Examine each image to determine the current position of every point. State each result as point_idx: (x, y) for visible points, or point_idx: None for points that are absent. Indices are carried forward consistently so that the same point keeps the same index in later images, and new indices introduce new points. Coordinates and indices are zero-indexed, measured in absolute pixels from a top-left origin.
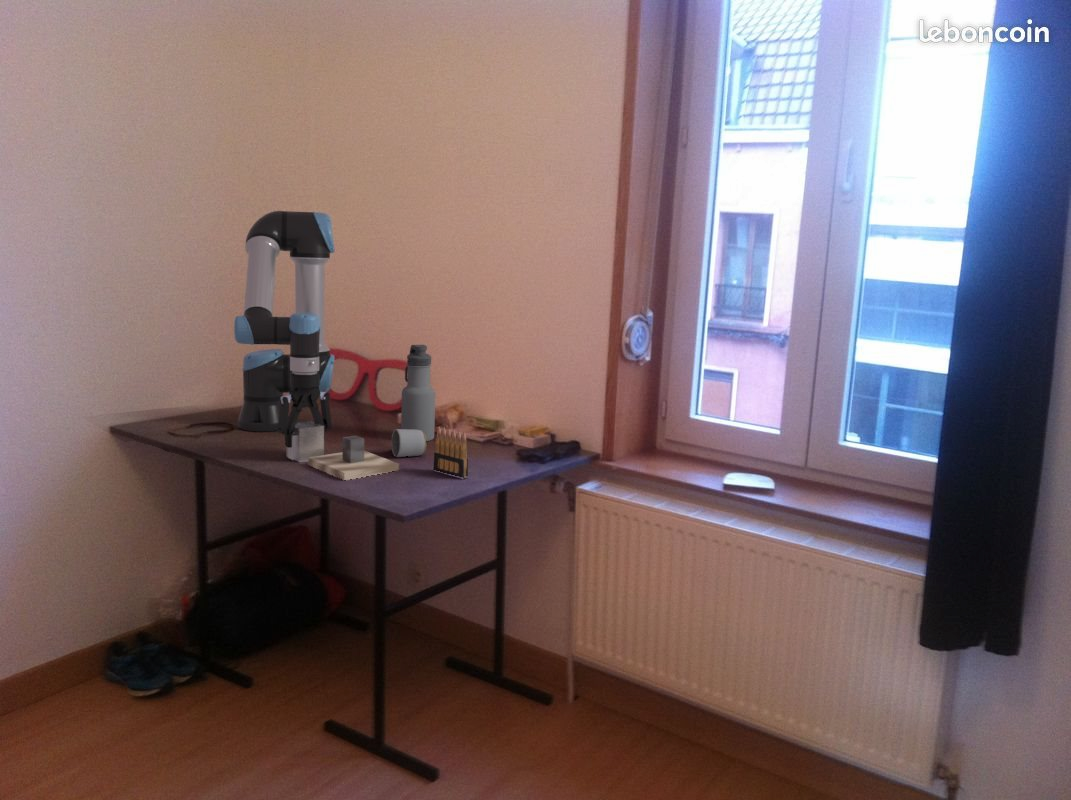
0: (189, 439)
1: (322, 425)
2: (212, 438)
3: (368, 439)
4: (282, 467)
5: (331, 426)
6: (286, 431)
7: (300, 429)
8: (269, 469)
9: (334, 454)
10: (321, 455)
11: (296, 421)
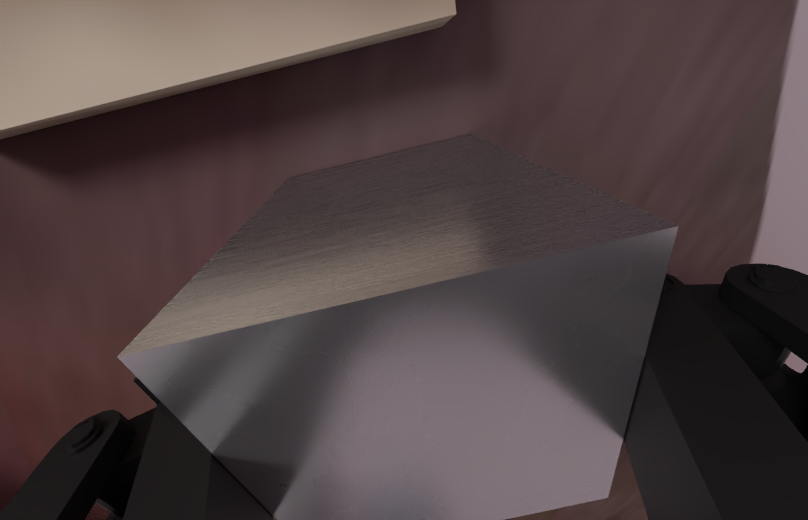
0: (638, 511)
1: (152, 380)
2: (583, 513)
3: (24, 463)
4: (630, 34)
5: (63, 437)
6: (710, 313)
7: (638, 228)
8: (733, 10)
9: (177, 37)
10: (314, 50)
11: (706, 464)
